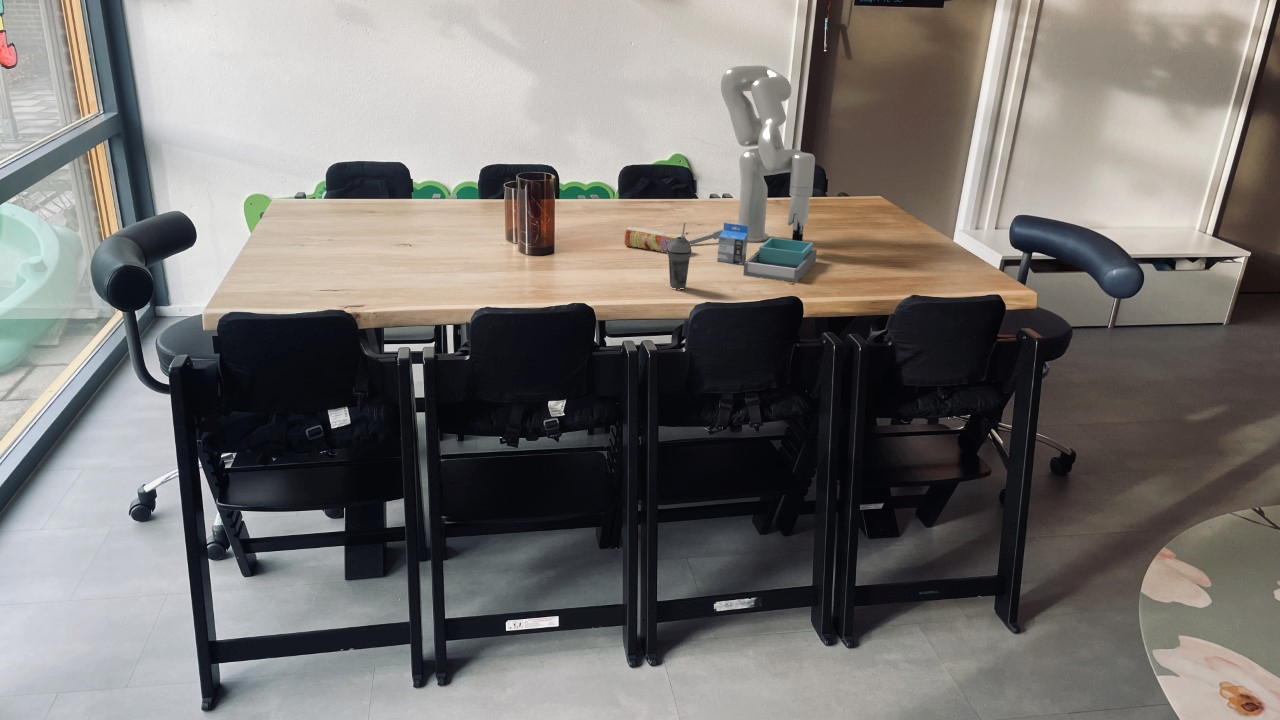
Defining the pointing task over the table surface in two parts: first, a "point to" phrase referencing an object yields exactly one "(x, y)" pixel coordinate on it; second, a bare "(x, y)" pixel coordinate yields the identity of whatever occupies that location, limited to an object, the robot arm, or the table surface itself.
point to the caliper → (707, 237)
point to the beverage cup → (679, 261)
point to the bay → (778, 268)
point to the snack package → (648, 239)
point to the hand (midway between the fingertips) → (797, 244)
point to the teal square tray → (784, 252)
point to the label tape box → (733, 244)
